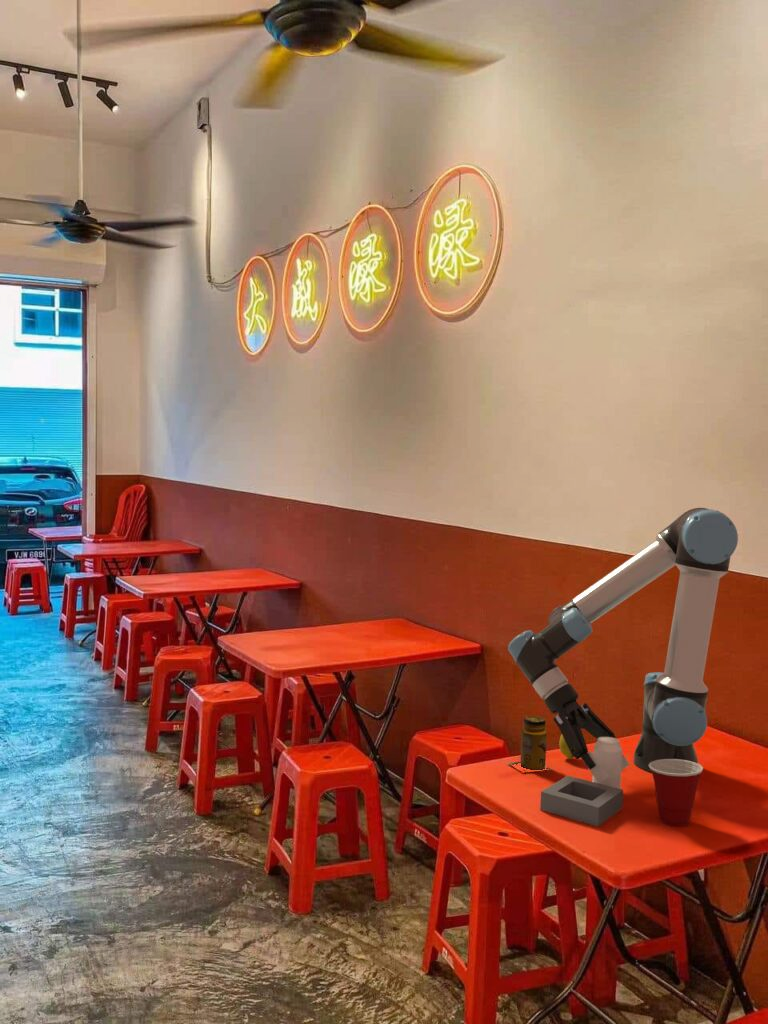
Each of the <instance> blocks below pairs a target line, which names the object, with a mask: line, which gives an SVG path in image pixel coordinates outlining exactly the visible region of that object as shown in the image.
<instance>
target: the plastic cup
mask: <svg viewBox="0 0 768 1024" xmlns="http://www.w3.org/2000/svg"><path fill="white" fill-rule="evenodd" d="M649 768H650V769H651V771H652V772H651V774H652V778H653V783H654V791H655V798H656V803H657V808H658V809H657V810H658V816H659V820H660V822H662V823H663V824H666V825H668V826H671V827H672V826H673V827H685V826H688V824H689V822H690V819H691V815H692V811H693V808H694V803H695V799H696V793H697V791H698V790H697V788H698V785H699V783H700V777H701V774H702V772H703V770H704V767H703V766H702V765H701V764H700V763H698V764H697V763H695V762H691V761H687V760H680V759H661V760H655V761H653V762H650V764H649Z"/></svg>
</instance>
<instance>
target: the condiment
mask: <svg viewBox="0 0 768 1024" xmlns="http://www.w3.org/2000/svg"><path fill="white" fill-rule="evenodd" d="M546 723H547V722H546V719H545V718H543V717H541V716H535V715H532V716H530V715H529V716H525V717H524V718H523V725H522V726H523V727H522V729H521V735H520V736H521V740H520V741H521V742H520V761H517V762H516V761H514V762H507V763H506V764H507V765H508V766H510V765H514V764H516V765H517V764H518V763H521V767H523V768H526V769H530V770H543V769H545V767H547V768H546V769H549V770H548V771H552V770H553V768H551V767H548V766H547V765H546V757H547V736H548V734H547V733H548V731H547V730H546ZM509 764H510V765H509Z"/></svg>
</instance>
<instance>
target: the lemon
mask: <svg viewBox="0 0 768 1024" xmlns="http://www.w3.org/2000/svg"><path fill="white" fill-rule="evenodd" d="M558 743H559V745H558V746H559V750H560V752H561V754H562V755H563V756H565V757H566V758H567V759H568V760H572V759H573V758H574V757H573V756H572V754H571V752H570V750H569V748H568V746H567V744H566V742H565V740H564V738H563V735H562V733H561V735H560V738H559V741H558ZM574 750H575V748H574Z"/></svg>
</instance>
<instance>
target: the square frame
mask: <svg viewBox="0 0 768 1024" xmlns="http://www.w3.org/2000/svg"><path fill="white" fill-rule="evenodd" d="M623 802H624V789H621V788H620V789H618V788H614V787H610V786H607V785H603V784H599V783H595V782H592V781H590V780H587V779H583V778H579V777H575V776H570V775H566V776H564V777H563V778H561V779H560V780H558V781H557V782H554V783H553V784H551V785H550V786H548V787H546V788H544V789H543V790H541V791H540V808H539V810H540V809H541V810H540V811H542V810H544V811H543V812H545V811H547V812H546V813H549V812H550V813H549V814H552V813H554V814H553V815H556V814H557V815H556V816H559V815H560V817H562V816H564V817H563V818H566V819H569V818H570V820H574V821H577V822H580V823H583V822H584V824H587V825H590V826H593V825H594V826H593V827H597V828H598V827H599V826H601V825H602V824H603V823H605V822H606V821H608V819H610V818H611V817H613V816H614V815H615V814H617V813H618V812H619V811H621V810H622V809H623V806H624V803H623Z"/></svg>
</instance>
